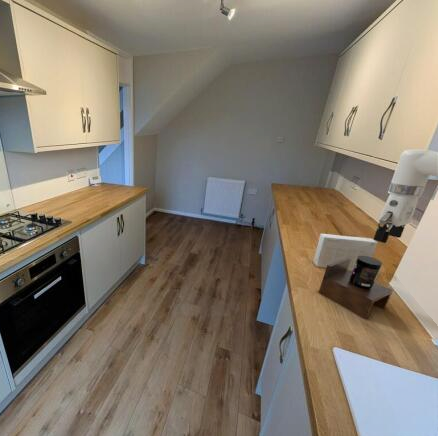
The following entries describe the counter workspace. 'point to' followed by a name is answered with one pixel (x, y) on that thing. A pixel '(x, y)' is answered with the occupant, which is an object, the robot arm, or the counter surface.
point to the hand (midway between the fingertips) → (386, 238)
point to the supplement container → (365, 272)
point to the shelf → (352, 290)
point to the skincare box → (342, 249)
